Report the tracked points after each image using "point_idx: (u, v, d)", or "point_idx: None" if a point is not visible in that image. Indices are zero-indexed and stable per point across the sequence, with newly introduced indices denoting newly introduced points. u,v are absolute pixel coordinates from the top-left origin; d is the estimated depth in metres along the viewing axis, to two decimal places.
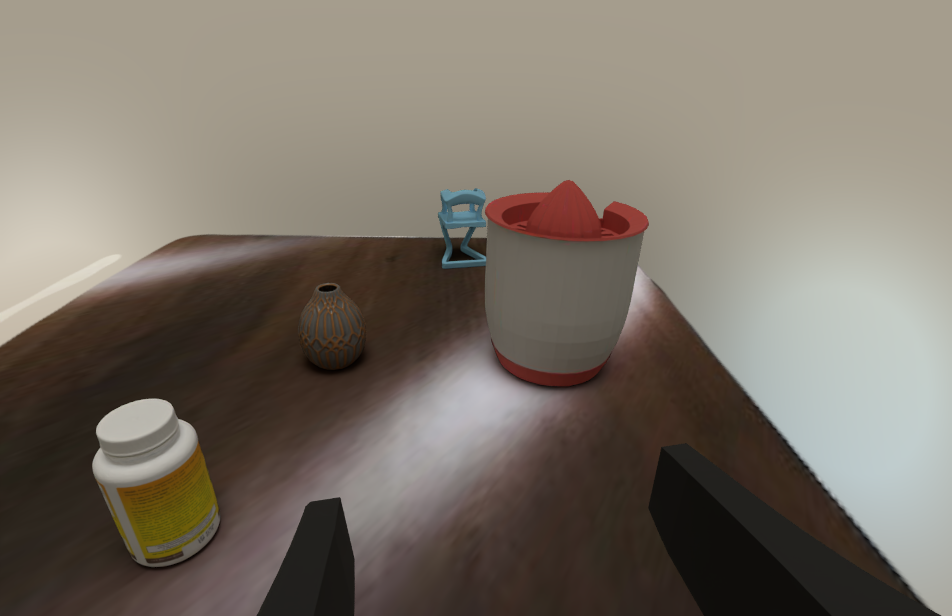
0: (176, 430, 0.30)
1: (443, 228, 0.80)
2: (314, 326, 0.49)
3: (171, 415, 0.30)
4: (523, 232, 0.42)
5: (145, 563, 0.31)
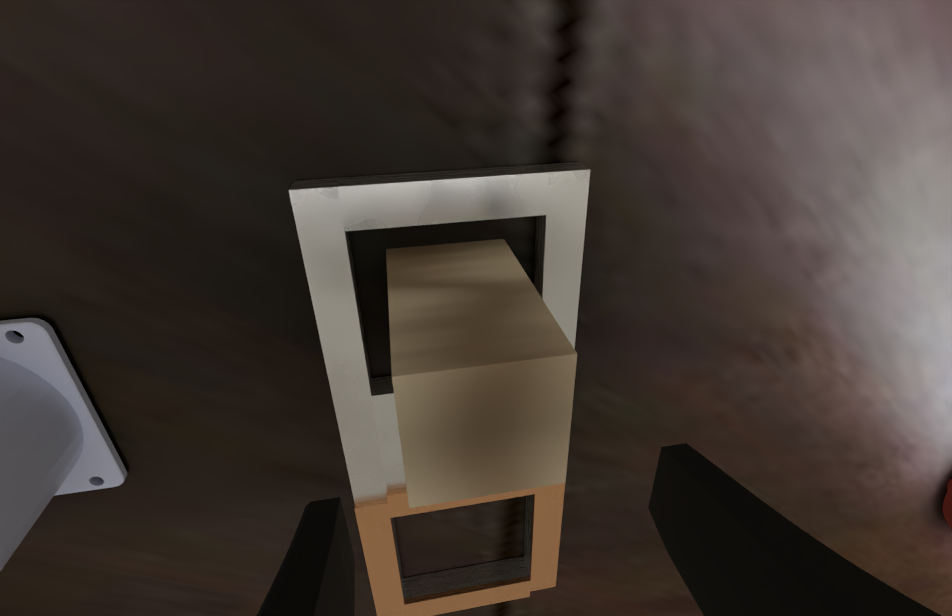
0: None
1: None
2: None
3: None
4: None
5: None
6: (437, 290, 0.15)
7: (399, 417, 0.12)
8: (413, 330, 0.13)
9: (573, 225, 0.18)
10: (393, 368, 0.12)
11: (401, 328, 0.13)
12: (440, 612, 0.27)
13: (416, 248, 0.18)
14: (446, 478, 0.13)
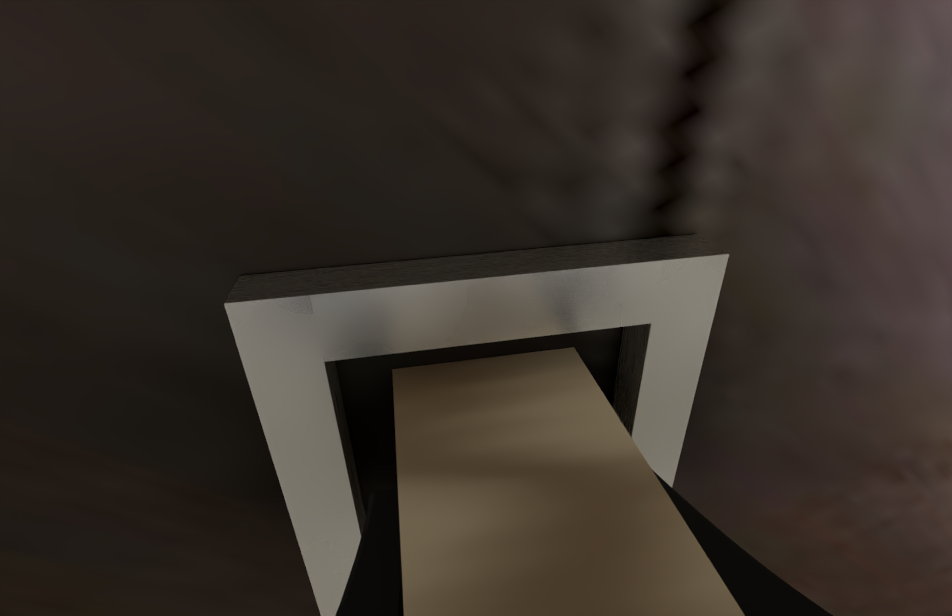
0: None
1: None
2: None
3: None
4: None
5: None
6: (485, 486, 0.09)
7: None
8: None
9: (690, 337, 0.11)
10: None
11: None
12: None
13: (439, 367, 0.12)
14: None
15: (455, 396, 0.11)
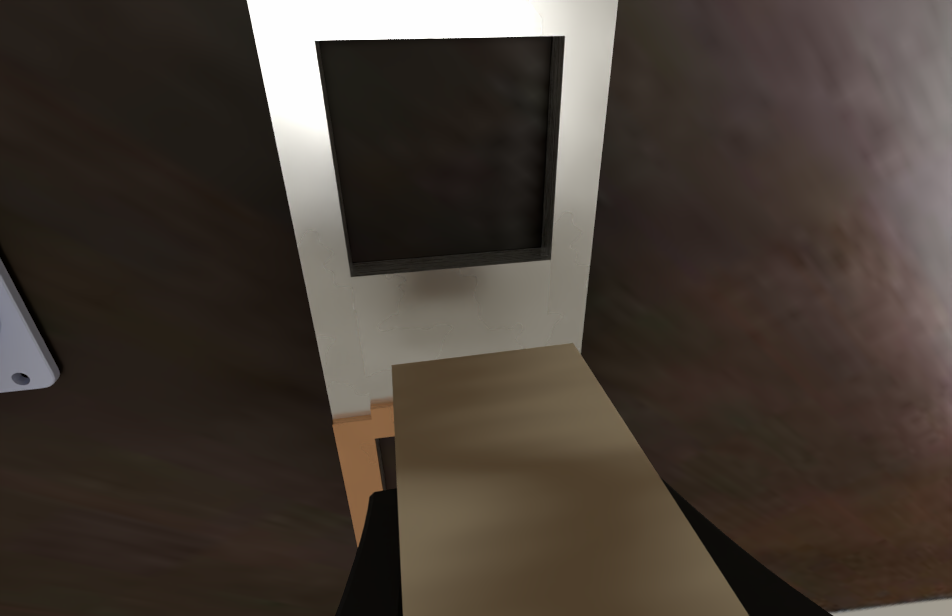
0: None
1: None
2: None
3: None
4: None
5: None
6: (485, 480, 0.09)
7: None
8: None
9: (597, 54, 0.15)
10: None
11: (427, 612, 0.07)
12: None
13: (438, 363, 0.12)
14: None
15: (454, 391, 0.11)
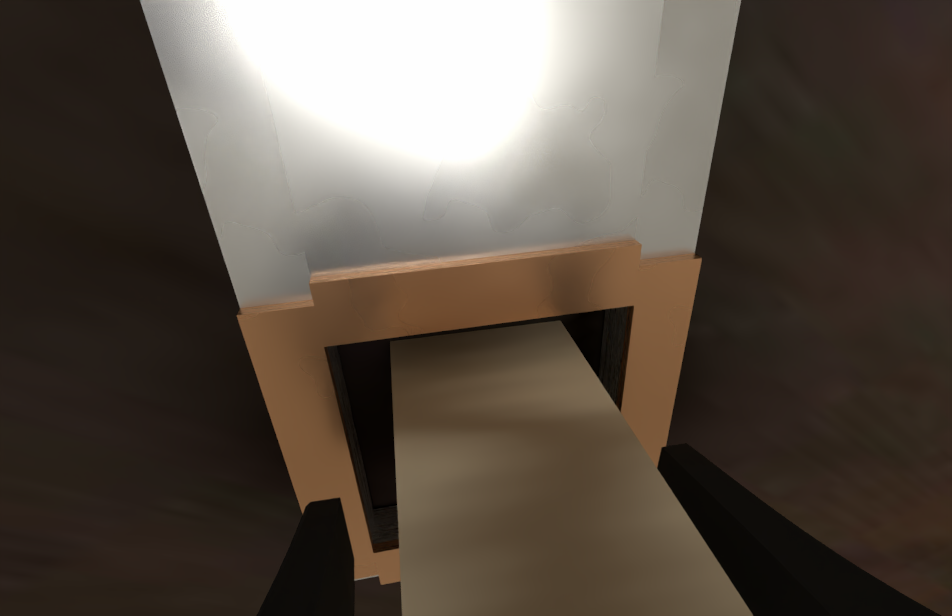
0: None
1: None
2: None
3: None
4: None
5: None
6: (474, 438, 0.09)
7: None
8: (443, 552, 0.07)
9: None
10: None
11: (421, 544, 0.07)
12: None
13: (433, 339, 0.12)
14: None
15: (448, 363, 0.12)
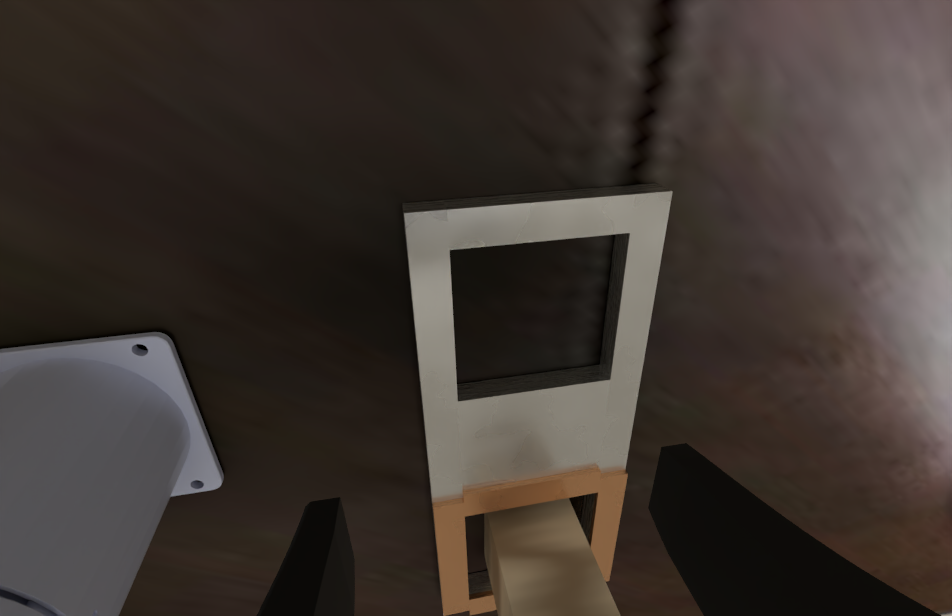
0: None
1: None
2: None
3: None
4: None
5: None
6: (532, 561, 0.23)
7: None
8: (527, 612, 0.21)
9: (653, 242, 0.19)
10: None
11: (519, 609, 0.21)
12: None
13: None
14: None
15: (514, 517, 0.25)
